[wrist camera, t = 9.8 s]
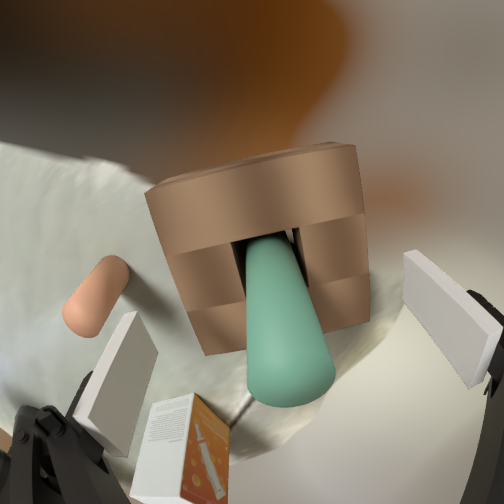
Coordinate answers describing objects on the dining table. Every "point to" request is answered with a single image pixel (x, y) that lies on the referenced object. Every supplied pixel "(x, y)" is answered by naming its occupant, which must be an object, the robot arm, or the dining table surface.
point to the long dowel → (282, 328)
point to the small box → (183, 455)
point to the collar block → (260, 223)
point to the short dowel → (96, 297)
